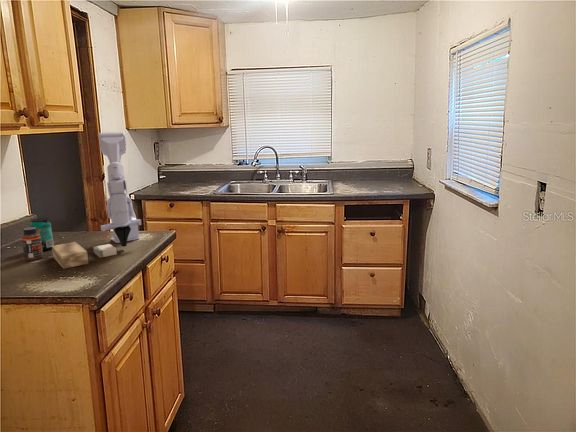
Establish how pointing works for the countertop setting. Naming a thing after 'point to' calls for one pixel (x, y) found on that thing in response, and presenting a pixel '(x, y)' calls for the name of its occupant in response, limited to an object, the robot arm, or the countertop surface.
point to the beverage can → (44, 232)
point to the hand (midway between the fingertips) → (123, 245)
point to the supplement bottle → (32, 244)
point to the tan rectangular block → (69, 255)
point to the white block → (104, 250)
